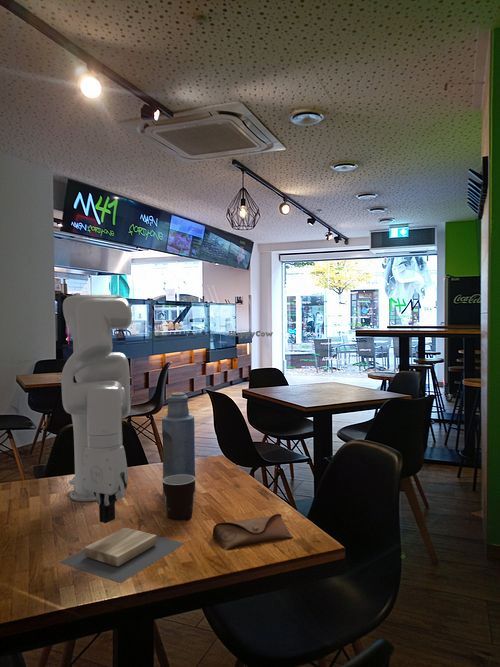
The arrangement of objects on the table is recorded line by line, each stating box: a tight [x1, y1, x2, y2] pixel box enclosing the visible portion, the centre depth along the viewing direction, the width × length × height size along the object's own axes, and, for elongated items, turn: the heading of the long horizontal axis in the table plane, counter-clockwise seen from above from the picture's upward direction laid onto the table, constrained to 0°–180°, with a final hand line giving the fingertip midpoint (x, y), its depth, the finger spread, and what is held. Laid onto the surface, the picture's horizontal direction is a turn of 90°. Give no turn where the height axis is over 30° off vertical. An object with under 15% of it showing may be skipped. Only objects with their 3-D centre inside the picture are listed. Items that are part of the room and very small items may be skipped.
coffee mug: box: [161, 474, 196, 522], centre depth 134 cm, size 12×9×10 cm
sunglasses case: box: [212, 513, 294, 551], centre depth 119 cm, size 18×7×7 cm
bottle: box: [161, 391, 196, 494], centre depth 152 cm, size 10×10×30 cm
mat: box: [59, 535, 185, 584], centre depth 112 cm, size 18×20×1 cm
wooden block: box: [83, 527, 158, 566], centre depth 112 cm, size 2×12×10 cm
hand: (107, 520), depth 114 cm, fingers closed
